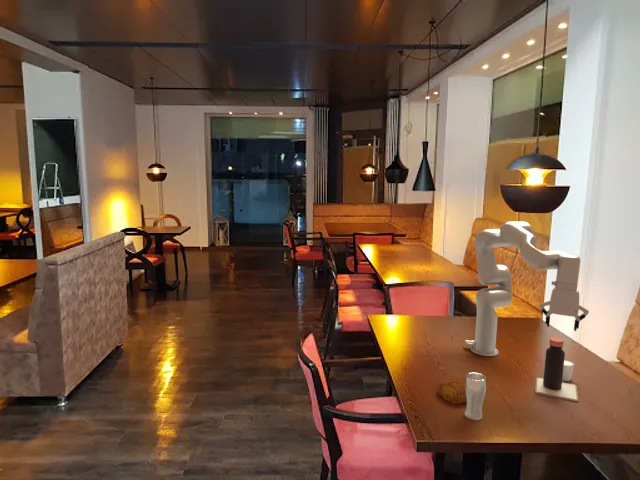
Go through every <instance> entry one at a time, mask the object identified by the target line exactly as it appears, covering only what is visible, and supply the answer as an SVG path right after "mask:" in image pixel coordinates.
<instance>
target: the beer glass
mask: <svg viewBox="0 0 640 480" xmlns="http://www.w3.org/2000/svg"><path fill="white" fill-rule="evenodd" d="M465 379H466V383H465V395H466V402H465V405H466V406H465V411H464V416H465V418H467V419H468V420H470V421H471V420H472V421H480V420H481V419H483V410H482V409H483V404H484V401H485V396H486V392H487V391H486V390H487V389H486V388H487V377H486V375H484V374H482V373H479V372H468V373H466V377H465Z"/></svg>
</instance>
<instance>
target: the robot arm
mask: <svg viewBox="0 0 640 480" xmlns="http://www.w3.org/2000/svg"><path fill="white" fill-rule="evenodd" d="M537 241H538V240H537V236H536V235H535V234H533V227H532V226H531V224H530V223H528V222H527V221H522V220H521V221H506V222H504V223H502V225H500V228H492V229H491V228H490V229H484V230H481V231H479V232H478V233H477V234H476V235H475V238H474V248H475V249H474V250H475V252H476V259H477V260H476V261H477V262H476V264H477V265H476V266H477V278H478V282H479V284H481V285H483V286H493V285H495V286H496V287H495V286H494V287H485V288H481V289H478V291H477V292H476V294H475V303H476V318H475V319H476V320H475V321H476V322H475V336H474V340H469V339H465V345H466V346H470V351H471V352H472V353H474V354H476V355H477V356H484V357H495V356H498V355H499V350H498V348H496V346H497V345H496V342H497V332H498V331H497V329H498V314H497V312H496V310H495V309H497V308H500V307H501V308H503V307H508V306H509V305H510V304H511V303H512V302H513V301H512V300H513V284H512V283H513V282H512V279H513V278H512V274H511V271H510V268H509V267H508V266H507V265H505V264H497V258H496V257H497V256H496V254H495V252H494V250H493V249H492V248H503V247H505V248H506V247H512V246H514V247H515V248H517V249H518V250H519V251H520V252H519V253H520V255H521V257H522V259H523V260H524V262H525V263H526V264H528V265H530V266H531V267H532V268H533V269H536V270H539V271H547V270H549V271H550V270H556V277H555V278H556V279H555V281H551V286H552V285H553V286H554V287H553V288H552V291H551V295H550V300H548V301H545V302H542V303H539V308H540V310H541V312H542V313H543V314H544V315H545V325H546V327H548V328H549V327H550V320H551V315H552V314H554V315H560V316H566V317H573V318H575V320H574V326H573V331H575V332H577V330H579V327H580V322H581V321H582V320H584V319H585V318H586V317H587V316H588V315H589V313H590V311H589V309H586V308H585V307H583V306H581V305H580V291H579V290H578V283H579V274H580V266H581V257H579V256H578V255H576V254H571V253H568V252H565V251H562V250H540V249H538V248H536V245H537V243H538V242H537ZM547 306H549V308H548V310H546V309H545V307H547ZM579 310H580V311H581V312H583V313H582V314H580V315H579Z"/></svg>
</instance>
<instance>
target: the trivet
mask: <svg viewBox="0 0 640 480" xmlns="http://www.w3.org/2000/svg"><path fill="white" fill-rule="evenodd" d="M543 378H544V377H543ZM543 378H542V377H537V376H536V378H535V388H534V389H535V390H534V393H535V394H536V395H540V396H544V397H549V398H555V399H559V400H564V401H568V402H574V403H579V393H578V386H577V385H576V384H574V383H569V382H565V381H562V388H561V389H560V390H551V389H548V388H546V387H544V386H543Z"/></svg>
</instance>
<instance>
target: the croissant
mask: <svg viewBox="0 0 640 480" xmlns="http://www.w3.org/2000/svg"><path fill="white" fill-rule="evenodd" d="M465 383H466V377H461V376H460V377H459V376H451V377H446V378H444V379H442V380H441V381H439V383H438V386H437V393H438V396H440V397H442V398H443V399H444V400H445V401H446V402H449V403H451V404H454V405H458V404H463V403H466V395H465Z"/></svg>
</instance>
